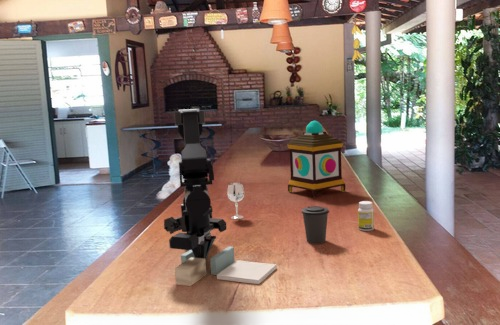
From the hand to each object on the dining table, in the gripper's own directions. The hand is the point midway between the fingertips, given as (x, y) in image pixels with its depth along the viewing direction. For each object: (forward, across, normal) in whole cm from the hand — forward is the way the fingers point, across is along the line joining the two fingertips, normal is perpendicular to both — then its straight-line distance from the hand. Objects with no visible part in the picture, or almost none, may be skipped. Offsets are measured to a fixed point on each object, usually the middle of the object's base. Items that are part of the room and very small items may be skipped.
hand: (201, 266), depth 132 cm
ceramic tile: (+1, -2, +12) cm, 12 cm away
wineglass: (+2, -51, -15) cm, 53 cm away
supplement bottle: (+2, -48, +31) cm, 57 cm away
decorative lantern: (+2, -98, -1) cm, 98 cm away
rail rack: (+1, -4, 0) cm, 4 cm away
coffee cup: (+2, -32, +20) cm, 38 cm away
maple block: (+1, +6, 0) cm, 6 cm away
